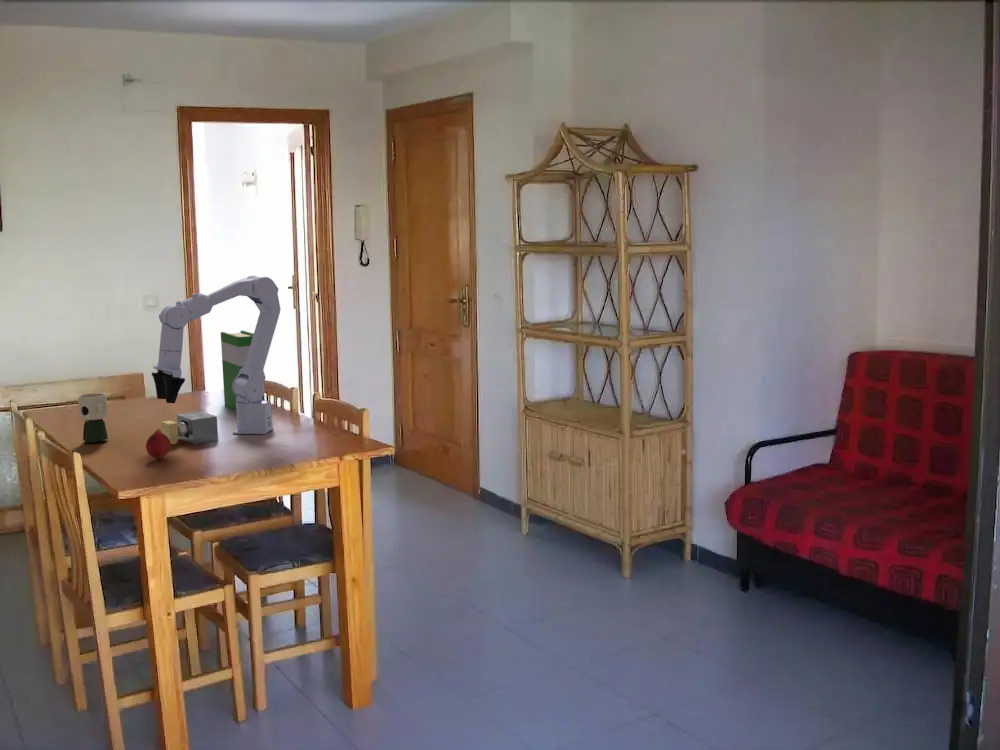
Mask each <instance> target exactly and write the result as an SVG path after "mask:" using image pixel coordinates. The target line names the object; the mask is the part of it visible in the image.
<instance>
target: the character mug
mask: <svg viewBox="0 0 1000 750" xmlns="http://www.w3.org/2000/svg"><path fill="white" fill-rule="evenodd" d="M77 398H78V400H77V401H78V403H77V404H78V409H79V410H78V411H79V413H78V414H79V419H80V420H83V421H84V424H83V431H82V432H83V434H82V442H84V443H97V444H98V443H99V442H101V441H104V440H105V441H106V440H108V439H109V436H108V431H107V427H106V423H105V420H104V419H105V418H107V417H108V416H109V414H108V412H109V411H108V402H107V401H108V400H107V394H106V393H104V392H93V393H92V392H91V393H83V394H80V395H79V394H78V396H77Z"/></svg>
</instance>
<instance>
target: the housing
mask: <svg viewBox="0 0 1000 750" xmlns="http://www.w3.org/2000/svg"><path fill="white" fill-rule="evenodd" d="M176 419H177V420H176V423H180V422H188V431H189V435H188V436H182V437H178V440H180V439H181V440H180V441H183V440H184V441H183V442H185V441H187V442H186V443H188V442H190V443H192V444H191V445H193V444H196V445H200V444H199V443H202V444H207V443H206V442H208V443H214V441H215V442H219V432H218V416H217V415H213V414H210V413H207V412H206V411H200V410H199V411H193V412H186V413H179V414H176ZM190 443H189V444H190Z"/></svg>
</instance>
